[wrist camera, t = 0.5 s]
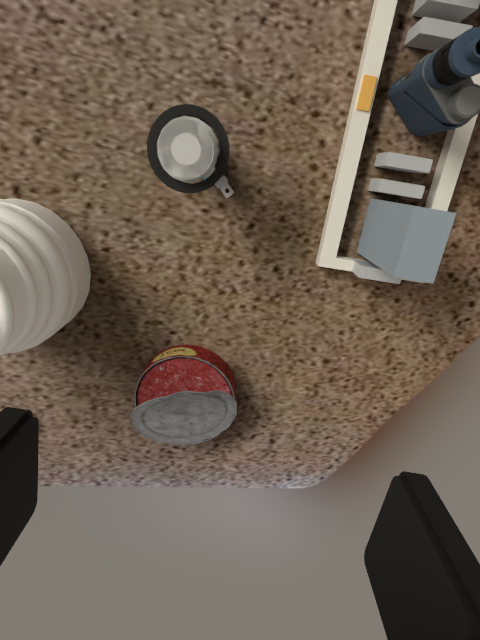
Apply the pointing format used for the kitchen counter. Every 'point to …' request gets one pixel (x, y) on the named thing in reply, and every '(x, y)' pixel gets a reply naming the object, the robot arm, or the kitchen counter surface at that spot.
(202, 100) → the kitchen counter surface
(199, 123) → the push button
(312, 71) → the kitchen counter surface
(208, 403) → the canned food
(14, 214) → the honey pot
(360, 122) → the rail
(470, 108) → the vaping device
